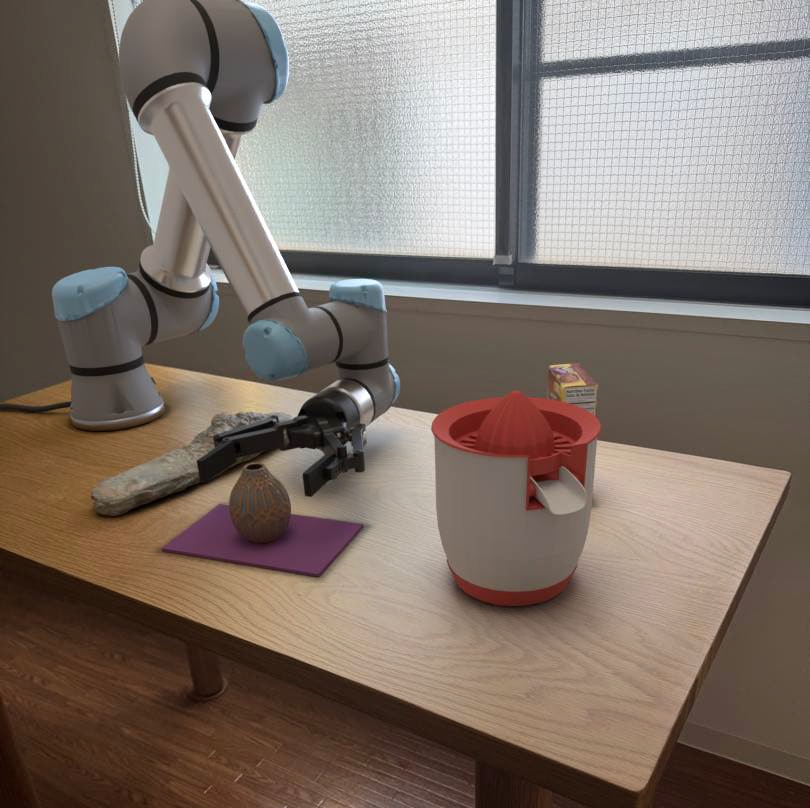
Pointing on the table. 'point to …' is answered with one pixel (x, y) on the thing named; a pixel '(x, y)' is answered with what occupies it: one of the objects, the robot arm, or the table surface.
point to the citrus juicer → (514, 494)
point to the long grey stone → (169, 468)
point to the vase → (259, 505)
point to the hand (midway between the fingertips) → (252, 478)
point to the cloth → (293, 552)
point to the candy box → (572, 386)
